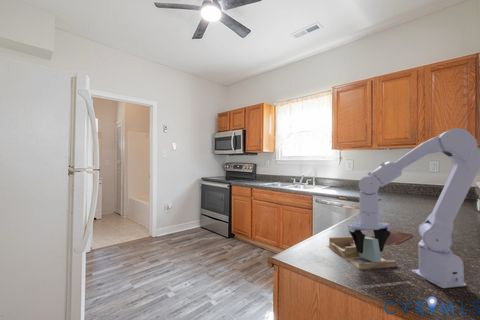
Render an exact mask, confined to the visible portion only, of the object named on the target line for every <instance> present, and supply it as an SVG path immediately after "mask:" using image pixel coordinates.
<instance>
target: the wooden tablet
mask: <svg viewBox="0 0 480 320" xmlns="http://www.w3.org/2000/svg"><path fill="white" fill-rule="evenodd" d="M413 237H414V234H413V233H412V234H411V233H407V232H401V231H390V236H389V237H388V238H387V240H386V242H385V245H384V246H392V245H394V244H395V245H398V244H400V243H403V242H404V241H406V240H408V239H410V238H413ZM368 238H374V239H375V235H372V236H369V237H368Z"/></svg>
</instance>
